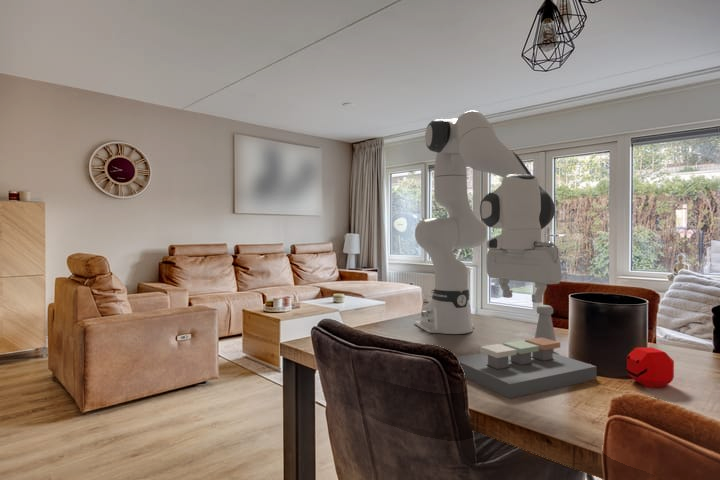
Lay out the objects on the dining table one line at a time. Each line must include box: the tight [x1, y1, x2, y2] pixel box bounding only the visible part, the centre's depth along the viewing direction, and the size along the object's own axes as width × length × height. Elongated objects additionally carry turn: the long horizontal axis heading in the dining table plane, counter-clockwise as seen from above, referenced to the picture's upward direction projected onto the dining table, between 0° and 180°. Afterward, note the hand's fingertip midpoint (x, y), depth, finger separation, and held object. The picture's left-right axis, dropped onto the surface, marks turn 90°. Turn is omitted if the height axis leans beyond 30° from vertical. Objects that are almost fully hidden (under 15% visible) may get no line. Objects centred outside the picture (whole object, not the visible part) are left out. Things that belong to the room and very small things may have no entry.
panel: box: [456, 352, 598, 399], centre depth 102 cm, size 20×26×3 cm
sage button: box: [502, 340, 539, 365], centre depth 102 cm, size 6×6×4 cm
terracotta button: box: [524, 337, 561, 361], centre depth 105 cm, size 6×6×4 cm
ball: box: [626, 346, 675, 388], centre depth 95 cm, size 8×8×8 cm
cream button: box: [479, 343, 516, 369], centre depth 99 cm, size 6×6×4 cm
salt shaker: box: [534, 304, 557, 352], centre depth 121 cm, size 6×6×13 cm
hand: (521, 299), depth 102 cm, fingers open, 8 cm apart
